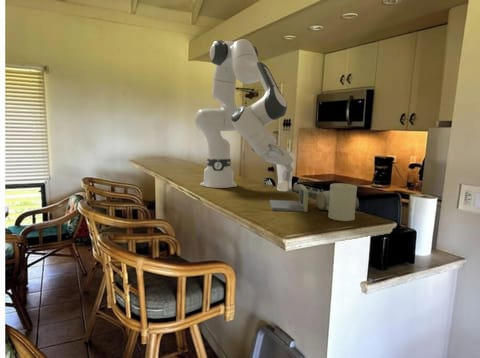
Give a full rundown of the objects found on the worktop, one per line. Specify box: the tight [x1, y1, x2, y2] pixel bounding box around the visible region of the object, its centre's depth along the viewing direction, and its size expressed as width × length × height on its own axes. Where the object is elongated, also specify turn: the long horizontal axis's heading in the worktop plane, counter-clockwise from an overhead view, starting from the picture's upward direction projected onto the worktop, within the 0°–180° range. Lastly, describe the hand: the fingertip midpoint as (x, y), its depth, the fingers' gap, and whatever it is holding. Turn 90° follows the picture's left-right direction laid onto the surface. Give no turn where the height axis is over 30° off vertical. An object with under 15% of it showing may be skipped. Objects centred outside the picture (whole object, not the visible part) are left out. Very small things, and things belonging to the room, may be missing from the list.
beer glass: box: [276, 150, 296, 193], centre depth 135 cm, size 7×7×15 cm
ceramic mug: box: [315, 190, 330, 212], centre depth 133 cm, size 11×8×8 cm
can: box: [327, 182, 358, 222], centre depth 122 cm, size 9×9×12 cm
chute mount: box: [269, 183, 309, 212], centre depth 137 cm, size 14×13×8 cm
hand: (286, 169), depth 135 cm, fingers closed on beer glass, 7 cm apart
